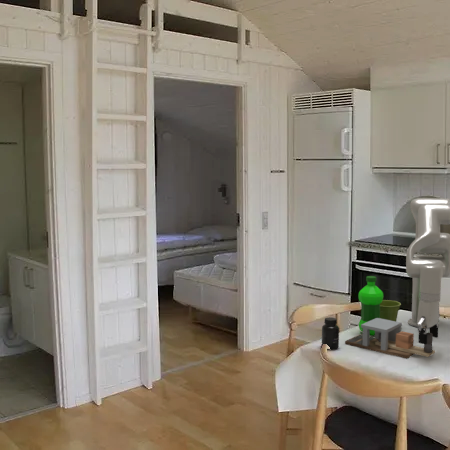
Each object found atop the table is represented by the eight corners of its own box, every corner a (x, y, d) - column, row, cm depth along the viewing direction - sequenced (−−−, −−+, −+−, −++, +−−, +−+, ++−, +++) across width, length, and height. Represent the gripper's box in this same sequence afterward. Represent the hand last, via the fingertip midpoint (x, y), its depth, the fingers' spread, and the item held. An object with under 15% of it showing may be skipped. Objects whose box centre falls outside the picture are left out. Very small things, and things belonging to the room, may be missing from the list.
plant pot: (395, 323, 273) (396, 299, 271) (404, 331, 261) (404, 306, 259) (369, 324, 272) (370, 299, 271) (377, 331, 260) (377, 306, 259)
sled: (382, 341, 243) (382, 322, 242) (434, 352, 228) (435, 332, 227) (375, 344, 238) (375, 325, 237) (428, 357, 224) (429, 336, 223)
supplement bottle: (338, 351, 236) (339, 321, 234) (321, 350, 237) (321, 320, 236) (338, 345, 243) (339, 316, 241) (321, 344, 244) (322, 316, 242)
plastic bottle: (355, 335, 255) (356, 278, 252) (361, 329, 264) (362, 273, 261) (379, 338, 251) (381, 280, 248) (384, 331, 260) (385, 275, 257)
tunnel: (376, 337, 248) (376, 317, 247) (401, 343, 241) (401, 322, 240) (360, 345, 239) (361, 324, 238) (385, 351, 231) (386, 329, 230)
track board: (359, 337, 253) (359, 334, 253) (420, 350, 235) (420, 347, 235) (344, 343, 244) (345, 340, 244) (407, 358, 226) (407, 355, 226)
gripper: (429, 290, 233) (428, 332, 236) (410, 299, 220) (408, 344, 223) (448, 293, 228) (447, 336, 231) (429, 303, 215) (428, 348, 218)
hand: (428, 340), depth 227 cm, fingers open, 9 cm apart
